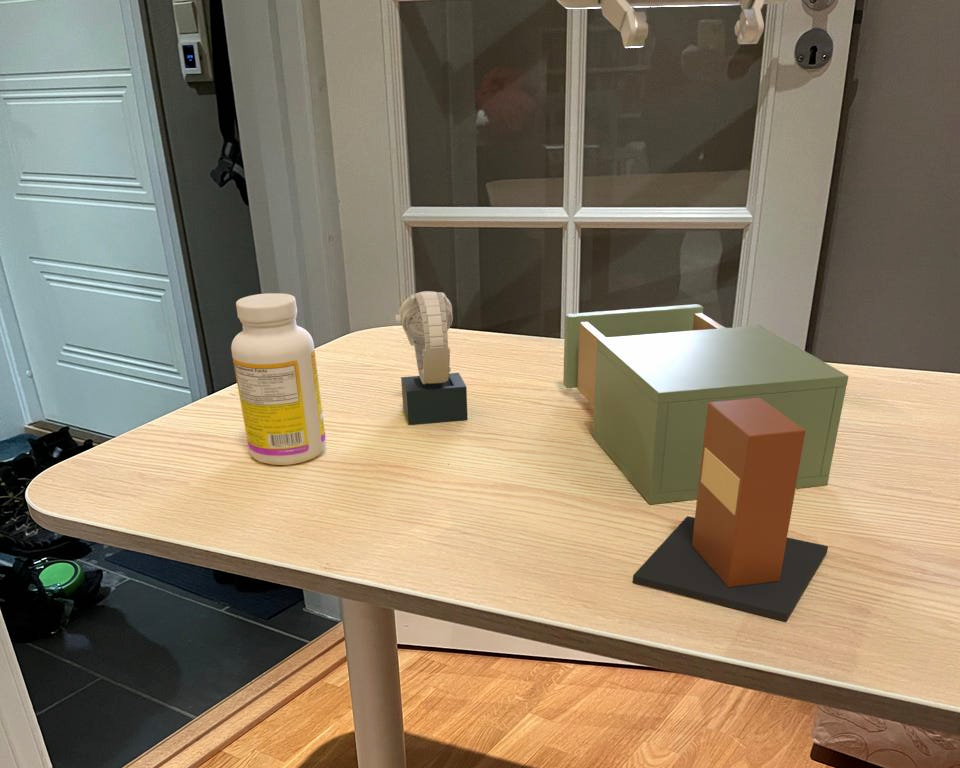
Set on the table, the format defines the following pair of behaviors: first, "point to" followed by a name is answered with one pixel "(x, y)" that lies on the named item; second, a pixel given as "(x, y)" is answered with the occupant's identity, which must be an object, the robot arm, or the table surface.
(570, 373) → the drawer
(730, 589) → the slate mat
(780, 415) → the brown rectangular block
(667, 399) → the cabinet
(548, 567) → the table surface
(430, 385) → the watch
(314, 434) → the supplement bottle
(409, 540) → the table surface
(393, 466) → the table surface
